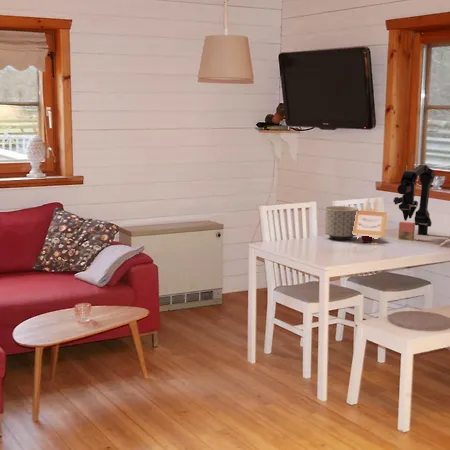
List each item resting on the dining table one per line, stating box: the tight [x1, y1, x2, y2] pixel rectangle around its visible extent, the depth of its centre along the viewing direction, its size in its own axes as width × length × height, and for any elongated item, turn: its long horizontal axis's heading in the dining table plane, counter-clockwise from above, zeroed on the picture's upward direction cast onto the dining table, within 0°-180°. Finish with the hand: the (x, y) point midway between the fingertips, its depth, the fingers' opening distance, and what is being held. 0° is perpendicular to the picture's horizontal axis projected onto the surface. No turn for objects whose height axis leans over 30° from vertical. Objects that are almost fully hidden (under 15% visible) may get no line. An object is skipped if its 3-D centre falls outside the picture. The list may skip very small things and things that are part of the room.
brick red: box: [398, 221, 416, 233], centre depth 438 cm, size 8×4×5 cm, turn 58°
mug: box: [361, 236, 373, 244], centre depth 433 cm, size 10×8×10 cm
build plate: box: [393, 236, 420, 243], centre depth 439 cm, size 12×12×1 cm
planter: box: [324, 205, 359, 241], centre depth 443 cm, size 19×19×18 cm
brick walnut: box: [397, 230, 415, 241], centre depth 439 cm, size 8×4×5 cm, turn 60°
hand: (407, 219), depth 438 cm, fingers open, 9 cm apart
